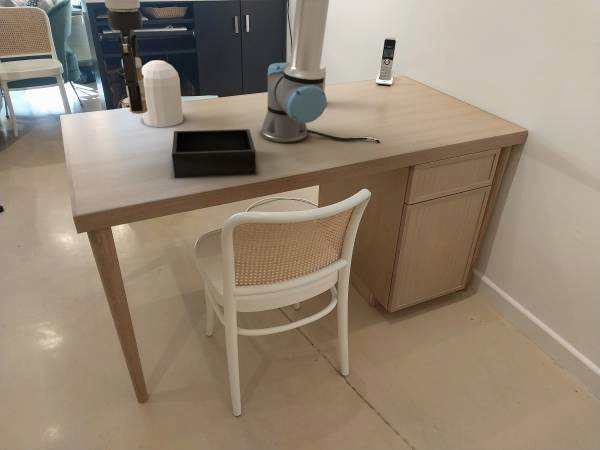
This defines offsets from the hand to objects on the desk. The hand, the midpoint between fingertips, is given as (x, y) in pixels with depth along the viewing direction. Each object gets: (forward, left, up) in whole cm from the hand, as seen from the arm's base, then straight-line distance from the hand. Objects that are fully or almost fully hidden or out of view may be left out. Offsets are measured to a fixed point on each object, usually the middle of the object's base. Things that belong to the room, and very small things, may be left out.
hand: (138, 107), depth 117 cm
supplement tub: (-59, -50, -17) cm, 79 cm away
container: (-3, -36, -17) cm, 40 cm away
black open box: (-19, 0, -17) cm, 25 cm away
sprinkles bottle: (0, 0, -1) cm, 1 cm away
